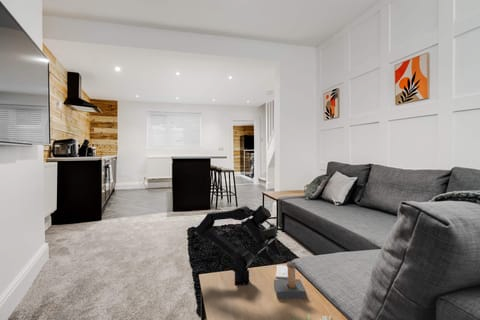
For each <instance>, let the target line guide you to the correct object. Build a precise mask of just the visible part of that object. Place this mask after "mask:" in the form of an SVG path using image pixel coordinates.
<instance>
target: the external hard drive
mask: <svg viewBox="0 0 480 320" xmlns="http://www.w3.org/2000/svg"><path fill="white" fill-rule="evenodd" d="M275 279H280V280H288V267H287V265H283V264H282V265H281V264H279V265H276V273H275Z"/></svg>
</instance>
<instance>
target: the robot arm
mask: <svg viewBox="0 0 480 320" xmlns="http://www.w3.org/2000/svg"><path fill="white" fill-rule="evenodd" d="M271 217H272V213H271V211H270V210H269V209H268V208H266V207H265V206H263V205H262V204H261V205H259V206H258V207H257V208H256V209H255V210H254V209H251V208H250V207H249V206H247V205H243V206H240V207H237V208H235V209H232V210H231V209H230V210H222V211H212V212H209V213H207V214H206V215H205V217H204V219H202V220H201V222H200V223H199V224H198V225H197V226H196V229H195V231H196V234H197V236H199V237H201V238H203V239H205V240H209V241H211V242H212V243H213V244H214V245H216V246H217V247H218V248H220V249H221V250H222V251H223V252H225V253H226V254H227V255H228V256H229V257H231V259H232V261H233V263H234V264H233V265H232V266H231V270H232V272H234V285H235V286H236V285H239V286H240V285H249V281H250V271H249V269H248V267H250V265H251V264H252V263H253V256H256V257H260V258H262V259H264V260H265V261H267V262H269V263H271V264H274V263H275V261H274V258H273V257H272V255H271V253H270V252H269V249H270V250H272V251H273V252H274V253H275V254H276V255H278V256H282V253H281V250H280V248H279V244H278V242H277V241H278V233H279V232H278V227H277V225H275V224H274V223H272V224H270V225H269V227H268V228H265V227H264V226H262V227H261V225H264V223H266V221H267V220H269V219H270V218H271ZM230 219H231V220H234V221H241V222H240V223H241V225H240V228H241V229H243V228H244V227H245V228H246V229H247V231H248V232H249V234H250V238H251V239H254V240H255V242H256V243H255V246H254V247H252V248H251V252H250V251H249V250H248V249H246V247H244V246H242V247H241V248H238V247H237V246H235V245H234V244H233V243H231V242H230V241H228V240H227V239H226V238H225V237H223V236H222V235H221V234H220V233H218V232H217V231H216V229H215V227H214V225H215V223H216V221H220V220H221V221H222V220H230ZM251 253H252V254H253V255H252V254H251Z"/></svg>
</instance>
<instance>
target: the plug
mask: <svg viewBox="0 0 480 320" xmlns="http://www.w3.org/2000/svg"><path fill="white" fill-rule="evenodd" d="M296 265H297V263H296V262H294V261H287V262H286V266H287V267H288V279H287V280H288V289H296V284H295V279H296Z"/></svg>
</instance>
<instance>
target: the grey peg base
mask: <svg viewBox="0 0 480 320" xmlns="http://www.w3.org/2000/svg"><path fill="white" fill-rule="evenodd" d="M301 280H302V279H300V278H299V279H298V278H297V279H296V278H295V284H296V289H288V279H273V287H274V291H275V296H276V299H277V300H283V299H284V300H287V299H288V300H293V299H306V298H307V291H306V288H305V287H304V285H303V282H302V281H301Z"/></svg>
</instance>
